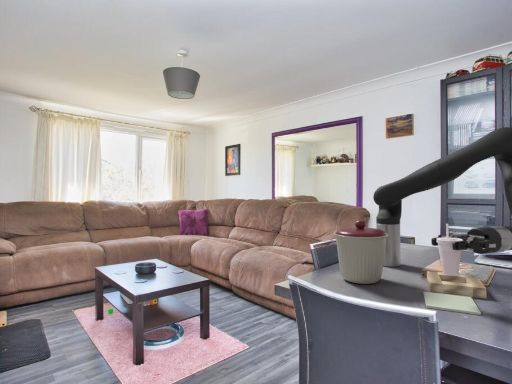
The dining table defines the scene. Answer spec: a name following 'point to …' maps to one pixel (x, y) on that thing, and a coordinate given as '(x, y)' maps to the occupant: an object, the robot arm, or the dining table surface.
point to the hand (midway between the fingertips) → (442, 243)
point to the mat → (451, 303)
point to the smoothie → (449, 254)
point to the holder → (456, 285)
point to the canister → (361, 253)
